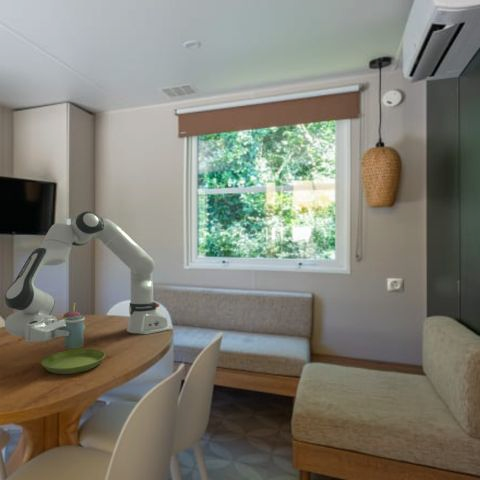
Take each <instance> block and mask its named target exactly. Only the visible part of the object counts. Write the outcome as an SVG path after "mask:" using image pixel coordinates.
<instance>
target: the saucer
mask: <svg viewBox="0 0 480 480" xmlns="http://www.w3.org/2000/svg"><path fill="white" fill-rule="evenodd" d="M105 357H106V353H105V351H103V350H101V349H96V348H73V349H68V350H64V351H59V352H56V353H52V354H50V355H48V356H46V357H45V358H43V359H42V360H41V365H42V366H43V368H45V370H46V371H48V372H49V373H52V374H55V375H57V374H58V375H72V374H79V373H83V372H87V371H89V370H92V369H93V368H96V366H98V365H99V364H100V363H101V362H102V361H103V360H104V358H105Z"/></svg>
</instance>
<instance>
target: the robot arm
mask: <svg viewBox="0 0 480 480" xmlns="http://www.w3.org/2000/svg"><path fill="white" fill-rule="evenodd" d="M93 238H95V239H98V240H99V241H100V242H101V243H102V244H103V245H104V246H105V247H107V248H108V250H109V251H111V252H112V253H113V254H114V255H115V256H116V257H117V258H118V259H119V260H120V261H121V262H122V263H123V264H125V266H127V267H128V268H129V270H130V302H129V306H128V310H129V313H128V314H129V320H128V325H127V328H126V332H128V333H130V334H141V335H150V334H154V333H159V332H165V331H169V330H172V329H173V325H172V324H171V323H169V322H168V321H169V320H168V317H167V316H166V314H164V313H163V312H162V311H160V310H159V309H158V308H159V307H160V304H159V302H155V301H154V281H153V278H154V277H153V272H154V270H155V265H156V264H155V260H154V259H153V257H152V256H150V255H149V254H148V252H146V251H145V250H144V249H143V248H142V247H141V246H140V245H139V244H137V242H135V240H134V239H133V238H132V237H130V236H129V235H128V233H126V232H125V231H124V230H123V229H122V228H121V227H120V226H119V225H117V223H114V222H113V221H112V220H110V219H108V218H102V217H101V216H100V215H98V214H97V213H95V212H92V211H90V210H89V211H88V210H87V211H84V212H81V213H80V214H78V215H77V216H76V217H75V219H73V221H72V222H71V223H70V224H67V223H63V222H57V223H54V224H52V225H51V227H50V228H49V230H48V231H47V233H46V235H45V237H44V240H43V241H42V244H41V246H40V247H38V248H36V249H33V251H32V252H31V254H30V255H29V256H28V258H27V259H26V261H25V262H24V265H23V266H22V267H21V269H20V272H19V273H18V275H17V276H16V278H15V280H14V281H13V282H12V284H11V285H10V286H9V287H8V289H7V290H6V292H5V295H4V301H5V304H6V306H7V307H8V308H9V309H13V310H16V312H13V313H11V314H9V315H8V316H7V317H6V318H5V320H4V329H5V331H7V333H8V334H10V335H12V336H14V337H19V338H24V342H25V343H44V342H47V341H50V340H52V339H53V340H54V339H56V338H57V337H65V336H69V335H70V334H71V333H70V332H71V331H70V330H65V319H63V318H62V319H60V320H58V319H57V317H56V316H54V315H51V313H52V312H53V310H54V308H55V303H56V302H55V298H54V296H53V295H52V294H49V293H48V292H46V291H44V290H41V289H39V288H37V287H36V286H35V284H34V283H35V279H36V277H37V275H38V274H39V272H40V270H41V268H42V267H43V266H58V265H61V264H64V263H65V262H67V259H68V258H69V256H70V253H71V249H72V246H76V247H77V246H79V247H81V246H84V245H85V244H87V243H88V242H90V240H92V239H93ZM85 330H86V325H85V324H84V331H85Z"/></svg>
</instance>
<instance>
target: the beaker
mask: <svg viewBox="0 0 480 480" xmlns="http://www.w3.org/2000/svg"><path fill="white" fill-rule="evenodd" d="M84 325H85V316H75V317H68V318H66V319H65V330H70V331H71V332H70V333H71V334H70V335H69V336H64V348H65V349H79V348H81V347H83V346H84V331H85V330H84Z"/></svg>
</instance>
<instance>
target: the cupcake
mask: <svg viewBox="0 0 480 480" xmlns="http://www.w3.org/2000/svg"><path fill="white" fill-rule="evenodd" d="M75 307H76V302H74V303H73V307H72V309H73V310H69V311H67V312H65V313H64V314H63V316H62V319H66V318H68V317H75V316H81V313H80V312H79V311H77V310H75ZM81 317H82V316H81Z"/></svg>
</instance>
